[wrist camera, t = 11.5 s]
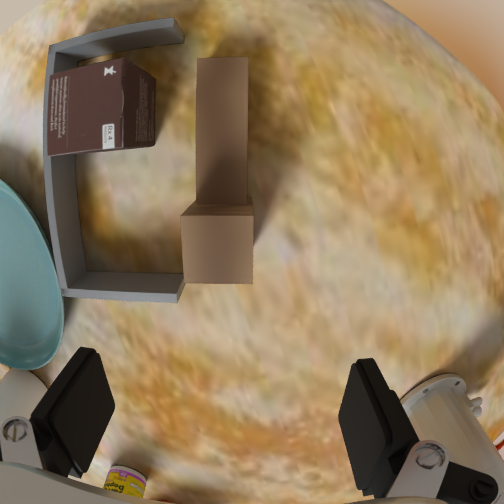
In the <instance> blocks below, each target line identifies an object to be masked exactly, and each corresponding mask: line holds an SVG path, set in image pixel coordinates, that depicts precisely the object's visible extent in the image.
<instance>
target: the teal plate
mask: <svg viewBox="0 0 504 504" xmlns="http://www.w3.org/2000/svg"><path fill="white" fill-rule="evenodd" d="M64 317H65V308H64V296H62V293H61V288H60V284H59V279H58V274H57V269H56V264H55V259H54V254H53V252H52V249H51V246H50V244H49V241H48V239H47V237H46V235H45V233H44V231H43V229H42V227H41V225H40V223H39V222H38V220H37V218H36V217H35V215H34V213H33V212H32V210H31V209H30V208H29V206H28V205H27V204H26V202H25V201H24V200H23V198H22V197H21V196H20V195H19V194H18V193H17V192H16V191H15V190H14V189H13V188H12V187H11V186H10V185H9V184H7V183H6V182H5V181H3V180H2V179H0V363H1V364H3V365H6V366H8V367H11V368H14V369H19V370H34V369H38V368H40V367H43V366H45V365H46V364H47V363H49V362H50V361H51V360H52V358H53V357H54V356H55V354H56V353H57V351H58V349H59V347H60V344H61V340H62V335H63V330H64Z"/></svg>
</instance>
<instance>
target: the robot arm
mask: <svg viewBox="0 0 504 504" xmlns="http://www.w3.org/2000/svg"><path fill="white" fill-rule="evenodd" d="M466 391H467V387H466V383H465V381H464V380H463V379H462V378H461V377H460V376H459V375H457V374H443V375H439V376H436V377H433V378H431V379H429V380H427V381H425V382H423V383H422V384H420V385H419V386H417V387H416V388H414V389H413V390H412V391H410V392H409V393H408V394H407V395H406V396H405V397H403V398H402V399H401V401H400V400H399V398H398V396H397V394H396V393H395V391H393V390H390V389H389V387H388V385H387V383H386V381H385V379H384V377H383V375H382V373H381V372H380V370H379V368H378V366H377V364H376V362H375V360H374V359H373V358H367V359H358V360H357V361H356V363H353V364H352V366H351V370H350V374H349V377H348V381H347V385H346V389H345V393H344V396H343V400H342V403H341V407H340V410H339V415H338V418H339V424H340V427H341V431H342V434H343V438H344V441H345V445H346V449H347V452H348V456H349V460H350V464H351V467H352V471H353V475H354V479H355V483H356V486H357V489H358V490H362V492H363V496H368V495H374V498H375V499H372V500H365V501H358V502H352V503H345V504H504V460H503V459H502V457H501V455H500V454H499V452H498V451H497V449H496V447H495V446H494V444H493V443H492V441H491V440H490V438H489V436H488V435H487V433H486V432H485V430H484V429H483V427H482V426H481V424H480V423H479V421H478V420H477V418H476V417H479V416H480V415H481V412H482V409H481V407H480V405H481V404H482V398H481V397H477V398H474V399H472V400H470V399H469V398H468V397H467V395H466ZM114 410H115V402H114V399H113V396H112V393H111V390H110V387H109V384H108V381H107V378H106V374H105V371H104V368H103V364H102V361H101V357H100V355H99V353H97V352H96V350H95V349H92V348H86V347H80V348H79V349H78V350H77V351H76V353H75V354H74V355H73V357H72V358H71V359H70V360H69V362H68V363H67V364H66V366H65V367H64V368H63V370H62V371H61V373H60V374H59V375H58V377H57V378H56V379H55V381H54V382H53V383H52V385H51V386H50V388H49V389H48V390H47V392H46V393H45V395H44V396H43V397H42V399H41V400H40V402H39V403H38V405H37V406H36V407H35V409H34V410H33V412H32V413H31V417H30V419H29V420H28V419H26V418H24V417H21V416H14V417H11V418H8V419H7V420H5V421H4V422H3V424H2V425H1V427H0V504H174V503H167V502H161V501H155V500H150V499H145V498H140V497H135V496H130V495H126V494H122V493H118V492H114V491H110V490H106V489H102V488H99V487H95V486H92V485H89V484H85V483H82V482H79V481H76V480H73V479H70V478H67V477H68V475H71V476H74V477H77V478H80V479H81V477H82V474H83V473H86V472H87V471H88V469H89V466H90V464H91V462H92V459H93V457H94V455H95V452H96V450H97V448H98V445H99V443H100V441H101V439H102V436H103V434H104V432H105V430H106V428H107V425H108V423H109V421H110V419H111V417H112V414H113V412H114Z"/></svg>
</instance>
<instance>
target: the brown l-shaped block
mask: <svg viewBox="0 0 504 504" xmlns="http://www.w3.org/2000/svg"><path fill="white" fill-rule="evenodd" d="M248 61H249V57H216V58H197V85H196V200H195V201H194V202H193V203H192V204H191V205H190V206H189V207H188V208H187V209H186V211H185V212H184V213H183V214H182V215H181V216H180V222H181V241H182V258H183V272H184V283H204V284H253V222H254V215H253V204H252V198H247V140H248Z"/></svg>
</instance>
